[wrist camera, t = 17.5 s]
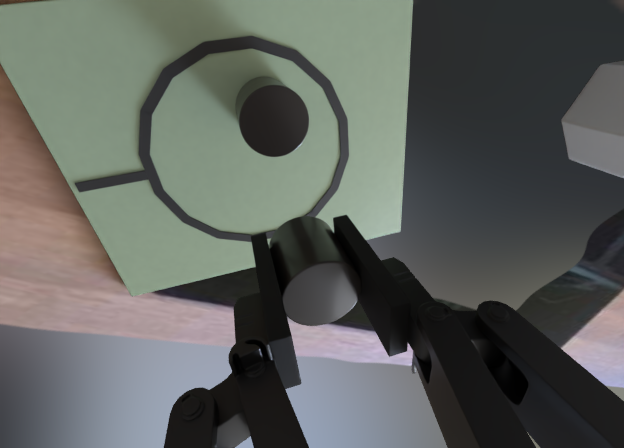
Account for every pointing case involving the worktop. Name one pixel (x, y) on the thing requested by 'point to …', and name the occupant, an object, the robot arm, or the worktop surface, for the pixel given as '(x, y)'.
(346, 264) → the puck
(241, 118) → the cylinder
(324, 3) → the board
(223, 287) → the worktop surface
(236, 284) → the worktop surface
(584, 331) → the worktop surface
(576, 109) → the jar
